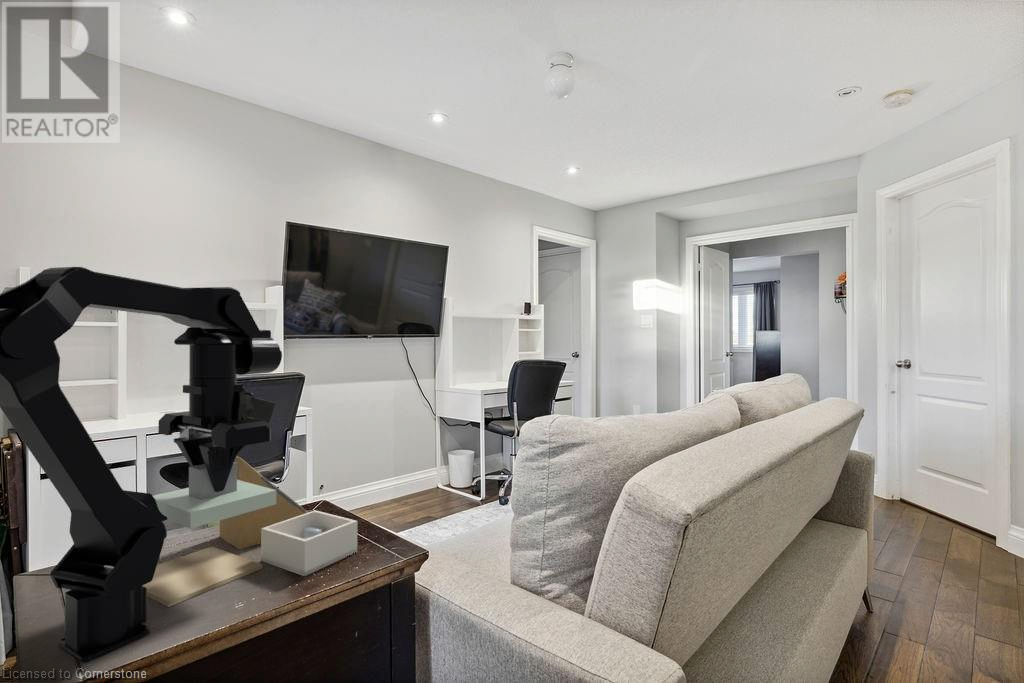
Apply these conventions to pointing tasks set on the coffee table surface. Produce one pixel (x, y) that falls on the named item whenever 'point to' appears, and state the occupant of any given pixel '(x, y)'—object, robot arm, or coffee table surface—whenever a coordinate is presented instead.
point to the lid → (212, 499)
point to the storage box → (308, 542)
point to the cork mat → (196, 574)
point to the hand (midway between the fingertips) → (212, 489)
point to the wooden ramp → (257, 511)
